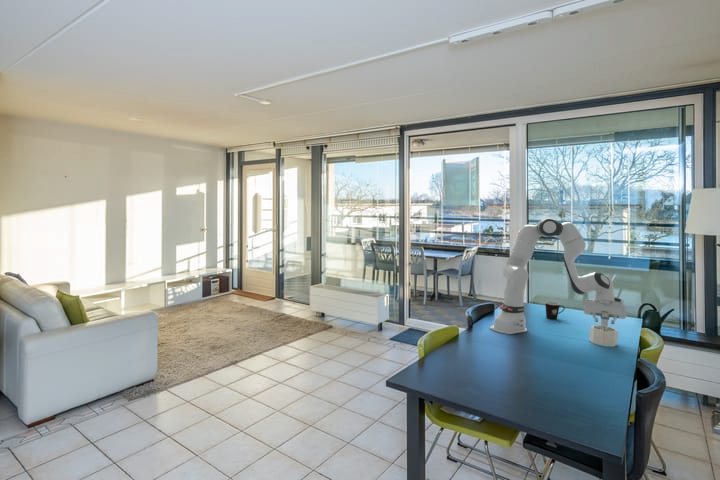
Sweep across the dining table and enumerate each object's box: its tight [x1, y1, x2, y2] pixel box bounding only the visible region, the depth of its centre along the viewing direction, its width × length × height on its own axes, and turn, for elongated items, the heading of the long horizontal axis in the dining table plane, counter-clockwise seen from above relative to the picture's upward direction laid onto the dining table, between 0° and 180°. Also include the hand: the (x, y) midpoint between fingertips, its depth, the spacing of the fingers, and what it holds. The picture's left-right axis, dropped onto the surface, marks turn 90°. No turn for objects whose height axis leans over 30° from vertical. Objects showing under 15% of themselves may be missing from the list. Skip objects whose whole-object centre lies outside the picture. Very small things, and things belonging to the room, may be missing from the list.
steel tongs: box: [599, 311, 610, 331], centre depth 215 cm, size 6×6×16 cm
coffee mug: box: [544, 301, 566, 321], centre depth 261 cm, size 12×9×10 cm
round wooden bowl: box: [589, 324, 619, 347], centre depth 215 cm, size 12×12×8 cm
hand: (604, 322), depth 213 cm, fingers open, 6 cm apart
